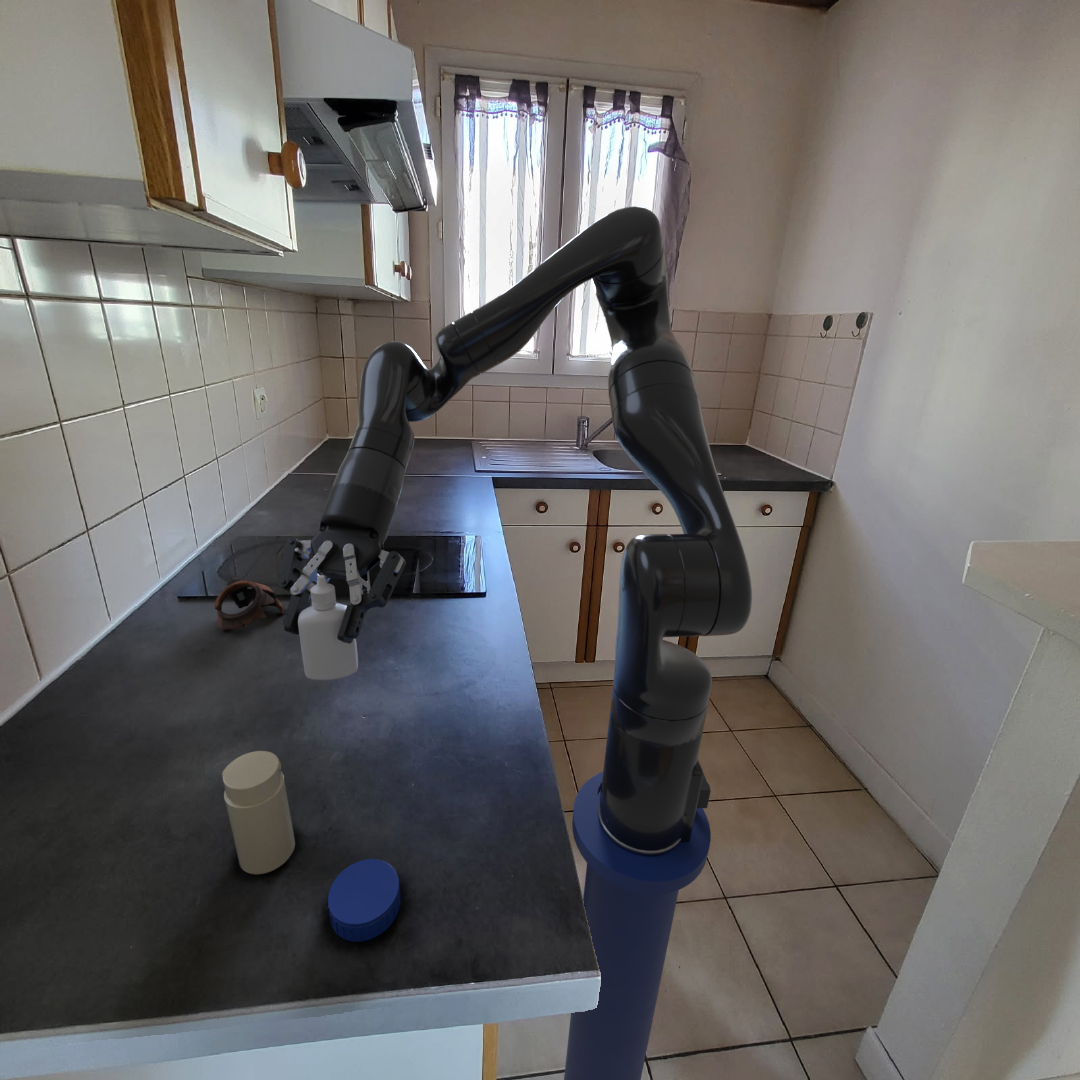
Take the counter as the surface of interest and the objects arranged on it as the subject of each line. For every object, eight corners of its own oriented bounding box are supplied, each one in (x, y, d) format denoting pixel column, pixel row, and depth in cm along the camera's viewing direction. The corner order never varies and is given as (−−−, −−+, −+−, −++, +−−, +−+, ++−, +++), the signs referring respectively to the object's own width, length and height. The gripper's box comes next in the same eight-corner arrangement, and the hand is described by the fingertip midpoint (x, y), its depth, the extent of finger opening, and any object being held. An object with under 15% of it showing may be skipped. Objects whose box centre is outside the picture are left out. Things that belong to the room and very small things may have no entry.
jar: (300, 826, 57) (287, 746, 53) (288, 871, 53) (272, 787, 49) (248, 831, 56) (231, 751, 52) (231, 878, 52) (210, 793, 48)
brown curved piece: (298, 619, 95) (277, 593, 89) (249, 658, 91) (223, 634, 85) (263, 582, 101) (240, 555, 94) (215, 617, 97) (188, 591, 90)
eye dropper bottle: (322, 656, 66) (310, 564, 61) (365, 665, 64) (356, 571, 60) (298, 678, 62) (283, 581, 57) (343, 688, 60) (332, 590, 56)
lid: (316, 908, 50) (314, 890, 49) (376, 863, 54) (375, 846, 53) (353, 959, 46) (351, 940, 45) (414, 906, 50) (413, 888, 49)
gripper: (432, 517, 67) (392, 655, 61) (325, 504, 70) (276, 634, 64) (411, 488, 61) (364, 639, 54) (293, 474, 63) (236, 617, 57)
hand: (317, 636), depth 59 cm, fingers closed on eye dropper bottle, 5 cm apart
